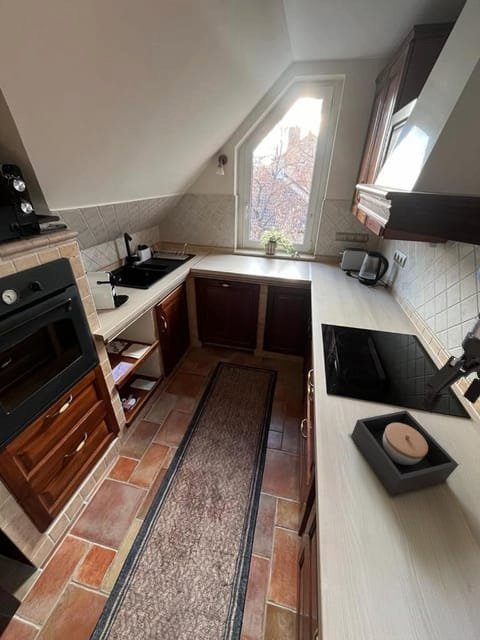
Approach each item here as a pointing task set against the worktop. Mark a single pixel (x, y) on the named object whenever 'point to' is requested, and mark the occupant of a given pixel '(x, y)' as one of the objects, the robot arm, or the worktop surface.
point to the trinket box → (404, 444)
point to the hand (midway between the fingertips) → (448, 403)
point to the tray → (392, 474)
